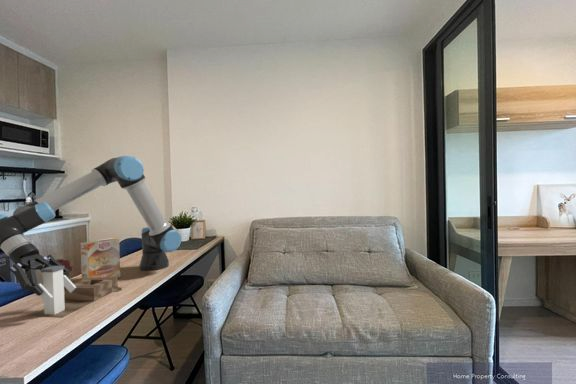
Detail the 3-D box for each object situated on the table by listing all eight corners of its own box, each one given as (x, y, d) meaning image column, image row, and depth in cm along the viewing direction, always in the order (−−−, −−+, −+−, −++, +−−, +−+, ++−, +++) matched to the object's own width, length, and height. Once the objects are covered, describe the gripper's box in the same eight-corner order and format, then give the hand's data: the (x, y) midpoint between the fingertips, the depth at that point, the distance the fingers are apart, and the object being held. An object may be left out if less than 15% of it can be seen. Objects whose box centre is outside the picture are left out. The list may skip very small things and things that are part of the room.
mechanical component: (78, 283, 139) (57, 290, 129) (61, 282, 141) (39, 289, 131) (77, 257, 138) (56, 263, 128) (59, 257, 140) (38, 262, 130)
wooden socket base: (92, 289, 130) (92, 275, 129) (121, 289, 128) (121, 276, 128) (26, 319, 101) (25, 302, 101) (62, 320, 99) (61, 303, 99)
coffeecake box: (89, 285, 135) (87, 243, 134) (81, 283, 138) (79, 242, 138) (121, 276, 148) (119, 238, 147) (113, 274, 151) (111, 237, 151)
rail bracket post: (55, 308, 106) (53, 265, 106) (66, 309, 106) (64, 265, 105) (42, 314, 102) (40, 269, 101) (54, 314, 101) (52, 269, 101)
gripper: (43, 250, 116) (80, 291, 114) (-21, 265, 95) (25, 315, 93) (54, 237, 115) (92, 277, 113) (-7, 249, 94) (39, 299, 92)
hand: (62, 294), depth 103 cm, fingers open, 9 cm apart
